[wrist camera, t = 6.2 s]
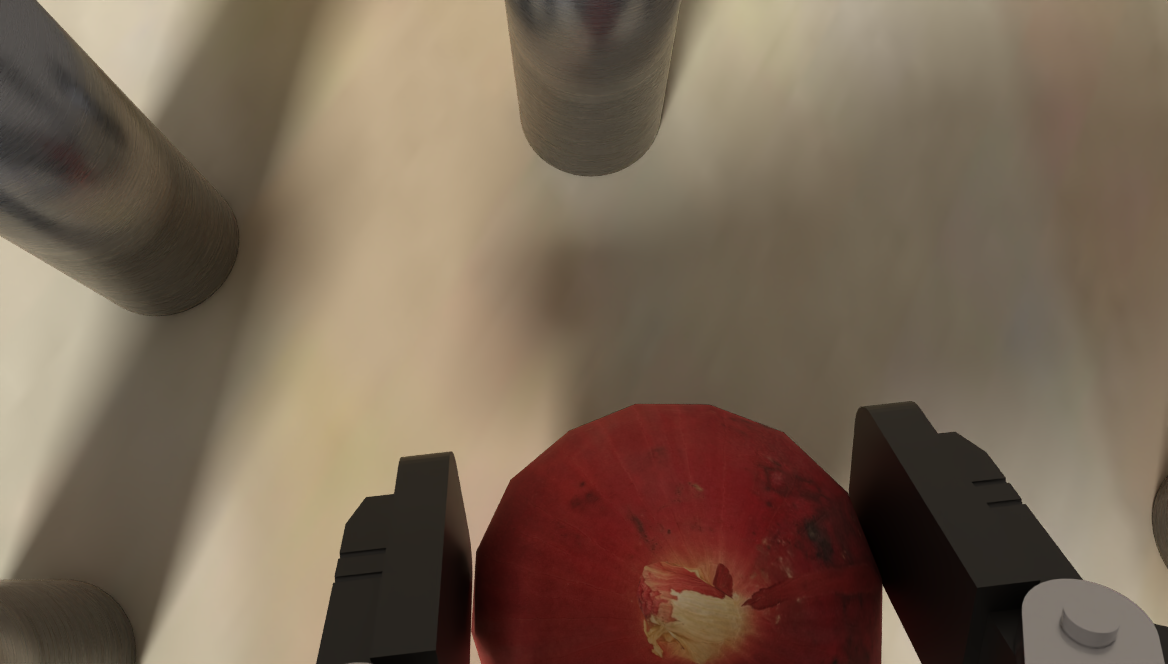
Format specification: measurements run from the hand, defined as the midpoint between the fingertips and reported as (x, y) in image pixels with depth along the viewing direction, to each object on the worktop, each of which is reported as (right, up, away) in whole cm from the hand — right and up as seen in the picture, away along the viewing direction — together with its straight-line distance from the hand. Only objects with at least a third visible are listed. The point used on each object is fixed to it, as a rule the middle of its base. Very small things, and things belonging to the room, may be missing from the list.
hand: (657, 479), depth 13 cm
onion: (0, -3, +4) cm, 5 cm away
